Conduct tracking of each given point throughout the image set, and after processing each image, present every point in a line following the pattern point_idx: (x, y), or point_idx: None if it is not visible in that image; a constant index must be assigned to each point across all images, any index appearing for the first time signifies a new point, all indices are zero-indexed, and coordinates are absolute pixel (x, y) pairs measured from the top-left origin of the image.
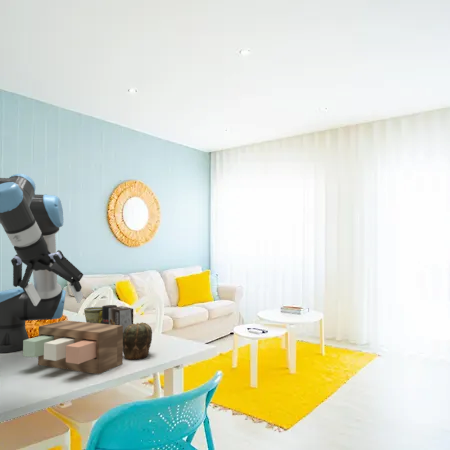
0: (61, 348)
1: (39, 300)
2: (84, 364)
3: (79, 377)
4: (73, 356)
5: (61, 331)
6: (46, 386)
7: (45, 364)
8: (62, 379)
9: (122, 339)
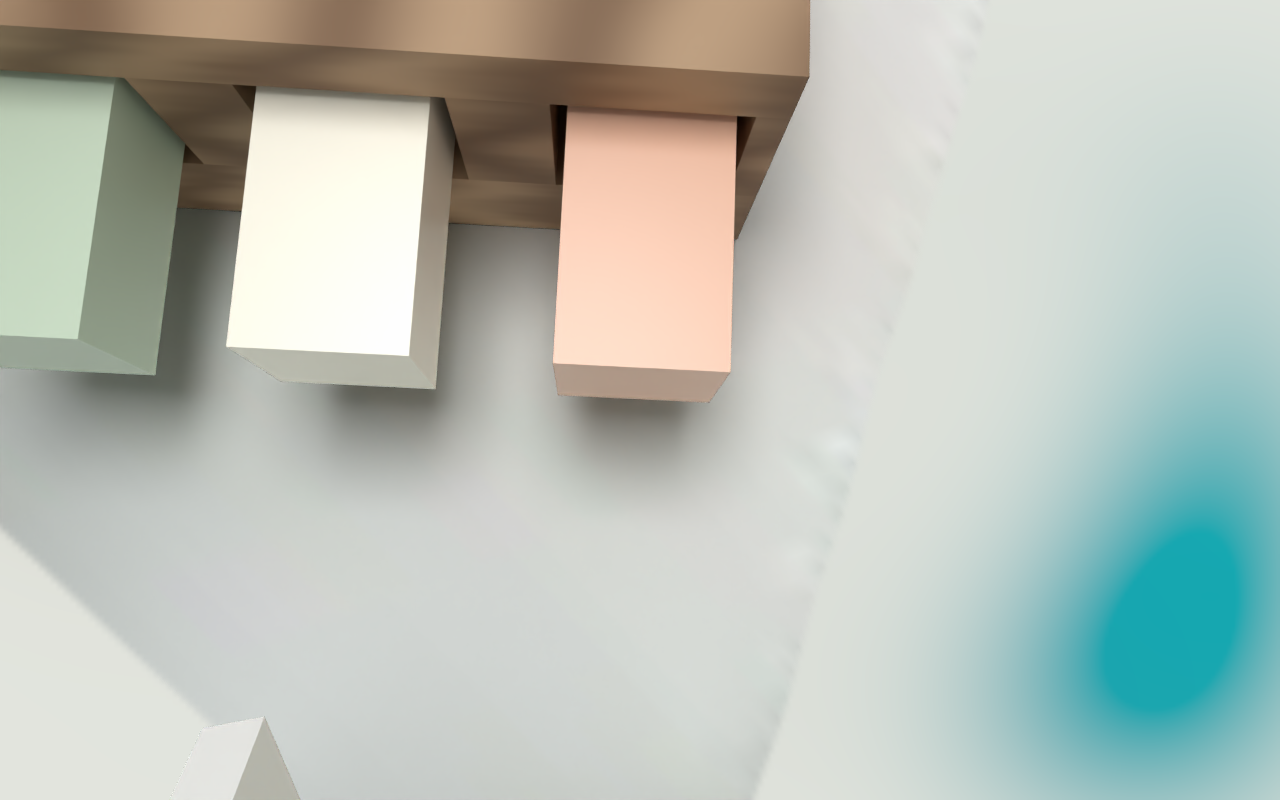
0: (426, 296)
1: (278, 773)
2: None
3: None
4: (653, 387)
5: (218, 56)
6: (546, 610)
7: None
8: (547, 435)
9: None
